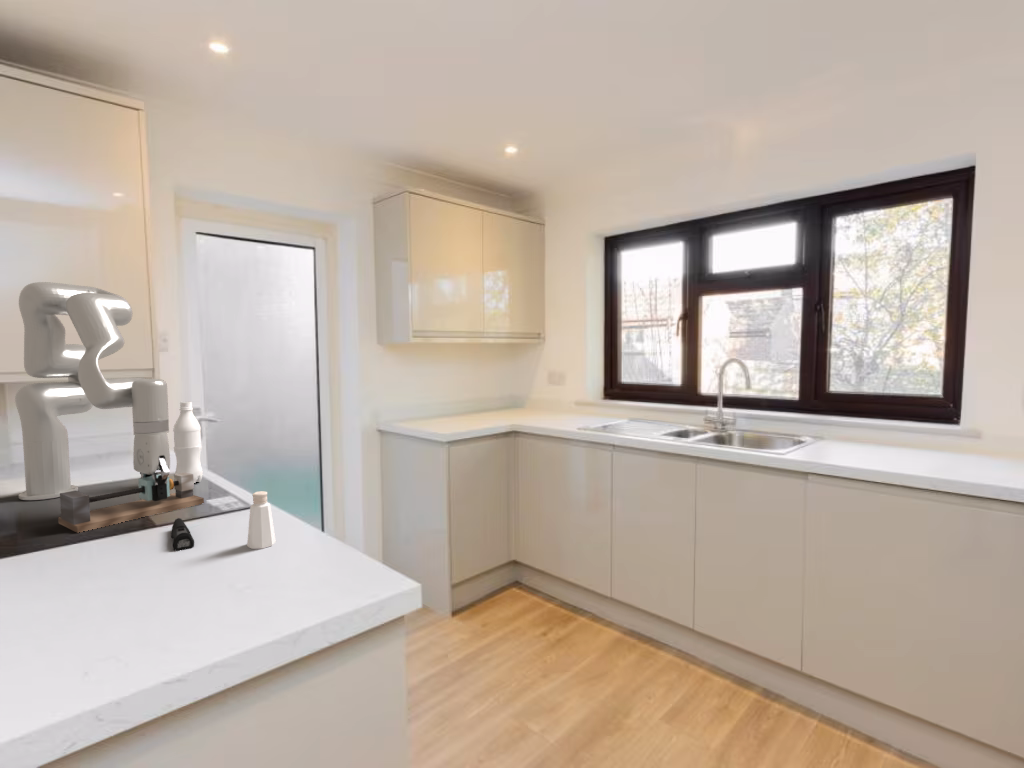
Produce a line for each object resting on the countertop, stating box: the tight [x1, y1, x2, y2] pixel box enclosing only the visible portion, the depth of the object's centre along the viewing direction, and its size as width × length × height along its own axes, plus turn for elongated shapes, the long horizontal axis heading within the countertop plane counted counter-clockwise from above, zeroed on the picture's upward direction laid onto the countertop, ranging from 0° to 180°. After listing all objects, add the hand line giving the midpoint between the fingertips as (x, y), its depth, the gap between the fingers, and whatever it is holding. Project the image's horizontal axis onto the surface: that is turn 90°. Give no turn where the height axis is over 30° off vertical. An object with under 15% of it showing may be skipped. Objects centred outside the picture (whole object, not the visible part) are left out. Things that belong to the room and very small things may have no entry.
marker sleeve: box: [137, 475, 171, 501], centre depth 135 cm, size 5×5×5 cm
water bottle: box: [172, 401, 204, 484], centre depth 161 cm, size 7×7×25 cm
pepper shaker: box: [246, 490, 277, 550], centre depth 110 cm, size 5×5×11 cm
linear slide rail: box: [57, 472, 205, 534], centre depth 132 cm, size 27×12×8 cm, turn 146°
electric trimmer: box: [170, 517, 195, 552], centre depth 114 cm, size 4×16×3 cm, turn 35°
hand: (154, 497), depth 136 cm, fingers closed on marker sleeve, 5 cm apart
